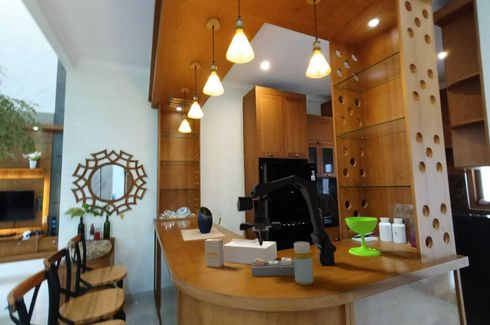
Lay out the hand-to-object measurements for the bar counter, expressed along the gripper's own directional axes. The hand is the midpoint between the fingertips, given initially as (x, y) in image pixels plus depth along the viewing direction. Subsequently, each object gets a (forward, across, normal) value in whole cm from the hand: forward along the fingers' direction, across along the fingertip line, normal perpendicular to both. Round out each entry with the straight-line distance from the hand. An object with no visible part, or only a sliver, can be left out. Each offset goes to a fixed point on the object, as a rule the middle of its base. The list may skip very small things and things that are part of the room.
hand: (261, 245), depth 111 cm
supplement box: (+12, -24, +12) cm, 29 cm away
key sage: (+9, +5, 0) cm, 11 cm away
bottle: (+12, +17, -12) cm, 24 cm away
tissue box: (+12, -6, +21) cm, 25 cm away
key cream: (+8, +11, 0) cm, 14 cm away
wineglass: (+10, +55, +28) cm, 63 cm away
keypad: (+12, +5, 0) cm, 13 cm away
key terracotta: (+8, -1, 0) cm, 8 cm away
